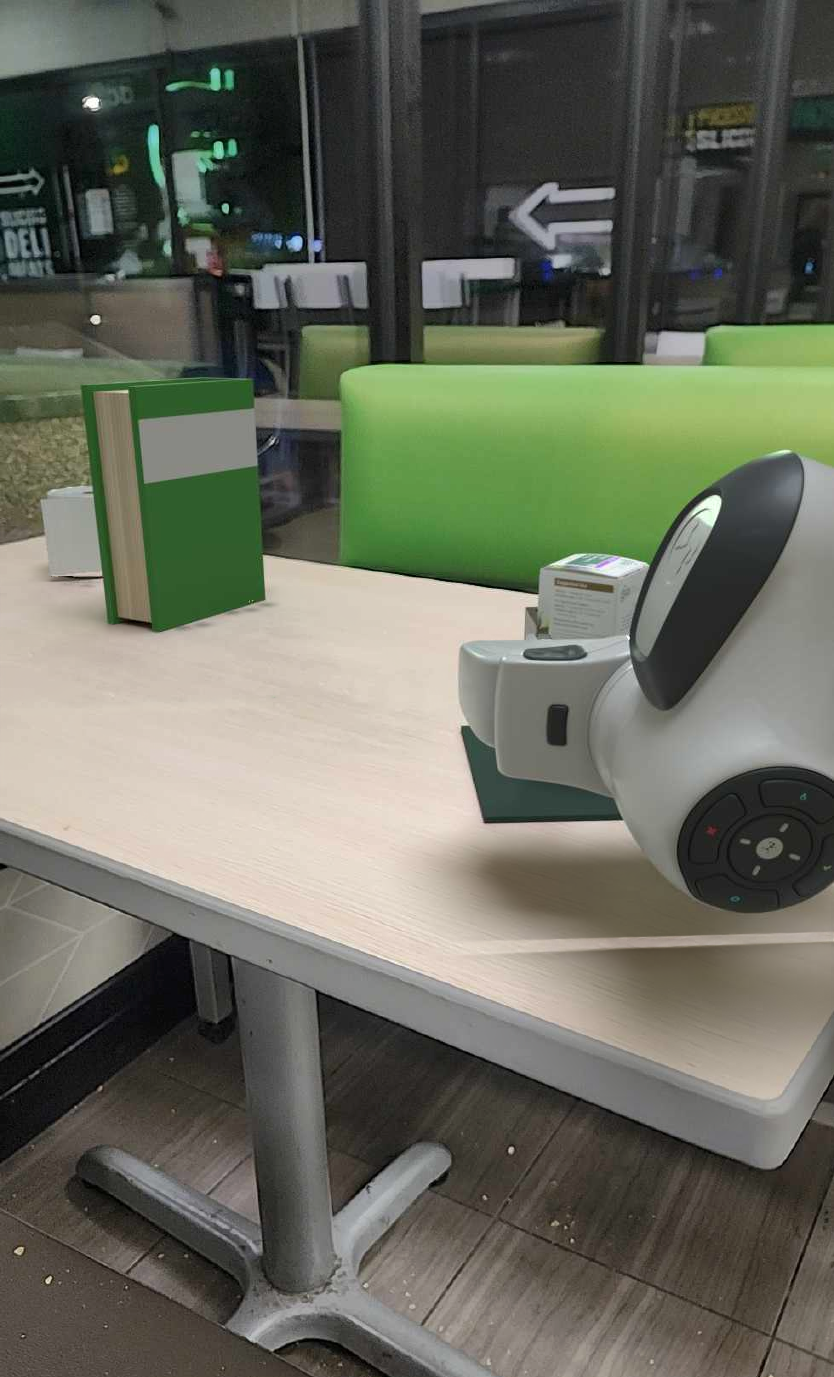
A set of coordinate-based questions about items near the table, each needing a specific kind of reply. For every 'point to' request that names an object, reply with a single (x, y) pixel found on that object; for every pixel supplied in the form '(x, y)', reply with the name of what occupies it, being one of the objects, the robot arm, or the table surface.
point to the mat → (528, 793)
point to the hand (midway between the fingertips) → (611, 645)
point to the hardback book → (175, 497)
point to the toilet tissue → (71, 531)
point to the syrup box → (589, 596)
